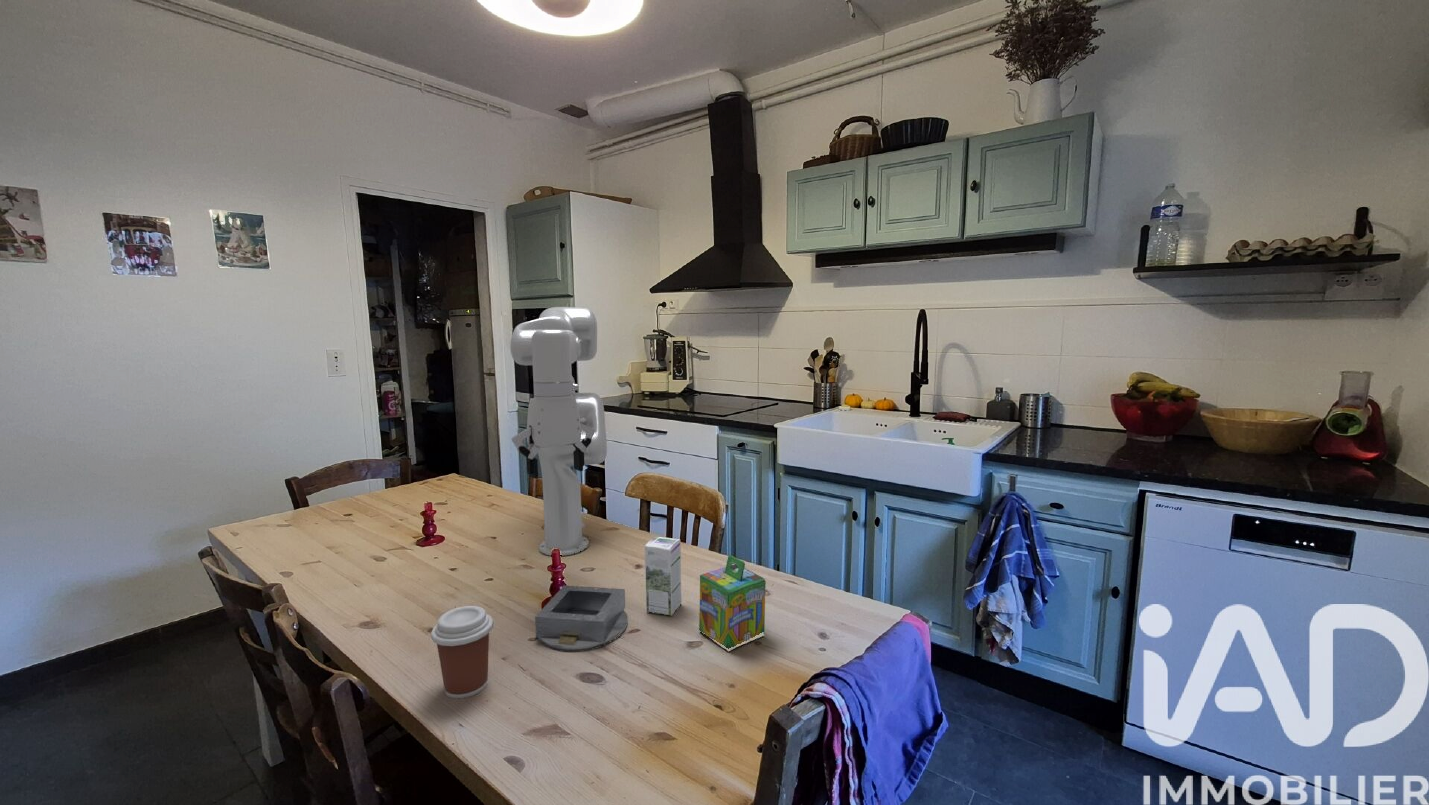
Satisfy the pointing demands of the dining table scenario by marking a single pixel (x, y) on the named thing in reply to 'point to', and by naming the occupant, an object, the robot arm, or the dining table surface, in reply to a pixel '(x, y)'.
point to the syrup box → (663, 575)
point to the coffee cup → (463, 649)
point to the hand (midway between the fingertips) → (556, 473)
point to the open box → (582, 618)
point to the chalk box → (732, 603)
